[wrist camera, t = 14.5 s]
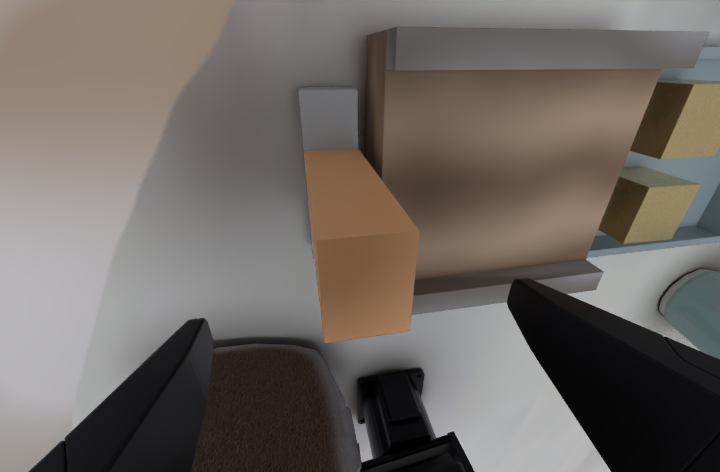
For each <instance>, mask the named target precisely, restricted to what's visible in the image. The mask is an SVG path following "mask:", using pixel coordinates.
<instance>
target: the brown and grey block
mask: <svg viewBox="0 0 720 472" xmlns="http://www.w3.org/2000/svg"><path fill="white" fill-rule="evenodd" d="M298 97H299V108H300V119H301V130H302V142H303V153H304V164H305V175H306V186H307V198H308V209H309V220H310V231H311V242H312V252H313V259H315V267H316V275H317V284H318V292H319V300H320V309H321V317H322V326H323V334H324V343H331V342H338V341H345V340H352V339H358V338H365V337H372V336H379V335H386V334H393V333H399V332H406V331H410V324H411V314H412V303H413V293H414V282H415V272H416V261H417V251H418V240H419V229H418V228H417V227H416V225H415V224H414V223H413V221H412V220H411V219H410V217H409V216H408V215H407V213H406V212H405V211H404V209H403V208H402V207H401V205H400V204H399V203H398V201H397V200H396V198H395V197H394V196H393V194H392V193H391V192H390V190H389V189H388V188H387V186H386V185H385V184H384V182H383V181H382V180H381V178H380V177H379V176H378V174H377V173H376V172H375V170H374V169H373V168H372V166H371V165H370V164H369V162H368V161H367V160H366V158H365V157H364V156H363V154H362V153H361V151H360V150H359V149H358V89H356V88H354V87H352V86H347V87H298Z"/></svg>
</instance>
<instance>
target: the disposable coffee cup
mask: <svg viewBox="0 0 720 472" xmlns="http://www.w3.org/2000/svg"><path fill="white" fill-rule="evenodd" d="M659 311H660V312H661V313H662V314H663V315H664V318H665V319H666V320H667V321H668V323H670V324H671V325H672V326H673V327H674V328H675V329H676V330H677V331H679V332H680V333H681V334H682V335H683V336H684V337H685V338H687V339H688V340H689V341H690V342H691V343H692V344H693V345H695V346H696V347H697V348H698V349H699V350H700V351H701V352H703V353H705V354H708V355H710V356H713V357H715V358H718V359H720V271H713V270H707V269H699V270H696V271H694V272H692V273H689V274H687V275H685V276H684V277H682V278H681V279H680V280H678V281H677V282H676V283H675V284H673V285H672V286H671V287H670V288H669V290H668V291H667V292H666V294H665V295H664V296H663V298H662V299H661V303H660V307H659Z"/></svg>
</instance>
